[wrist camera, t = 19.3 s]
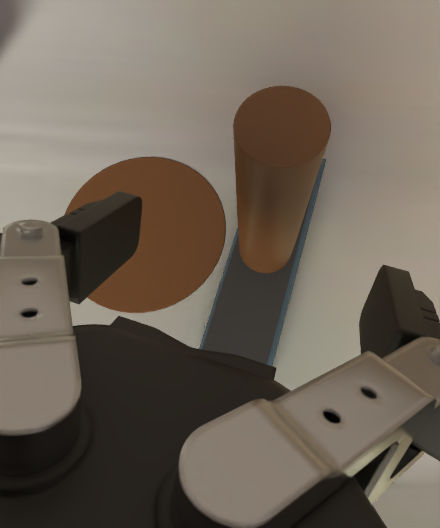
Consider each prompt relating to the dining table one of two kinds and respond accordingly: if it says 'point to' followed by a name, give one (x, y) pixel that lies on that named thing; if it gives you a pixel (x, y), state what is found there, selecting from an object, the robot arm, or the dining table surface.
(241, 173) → the sponge wiper
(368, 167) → the dining table surface
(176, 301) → the brown round coaster
